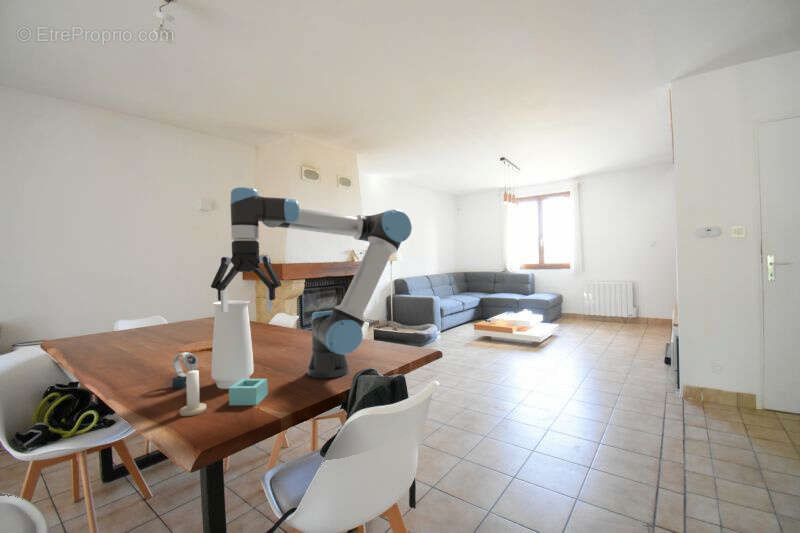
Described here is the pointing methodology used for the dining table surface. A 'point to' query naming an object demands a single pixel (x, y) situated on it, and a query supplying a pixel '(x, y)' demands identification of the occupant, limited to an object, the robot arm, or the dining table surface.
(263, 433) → the dining table surface
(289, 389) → the dining table surface
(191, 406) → the post
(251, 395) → the teal storage bin
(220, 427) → the dining table surface
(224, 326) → the vase
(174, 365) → the watch
